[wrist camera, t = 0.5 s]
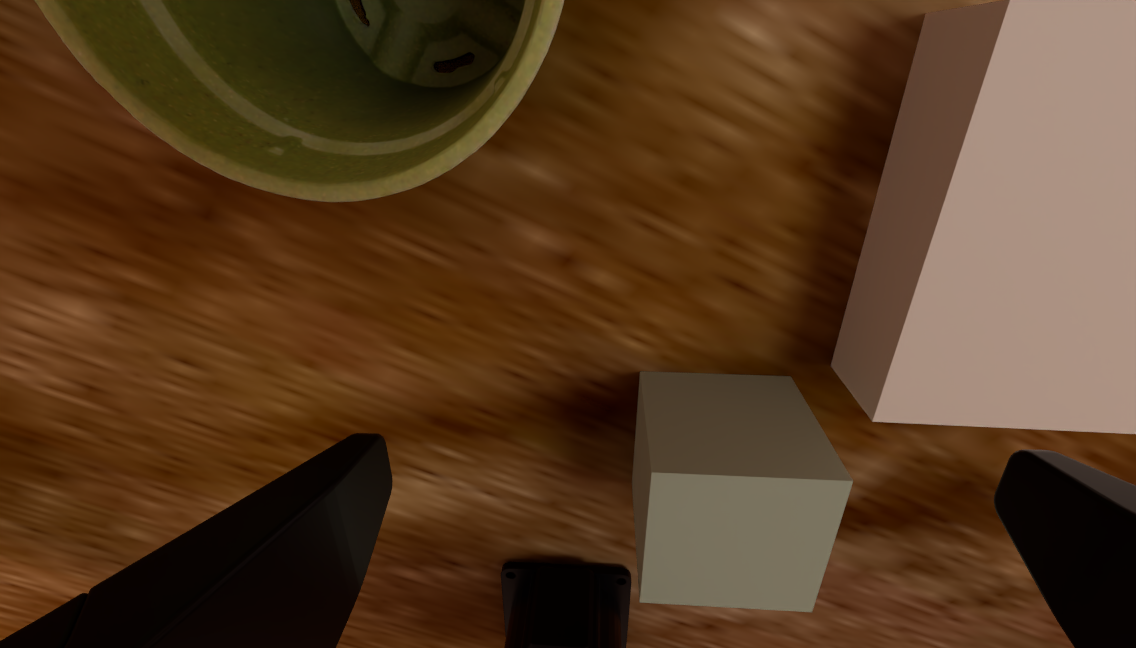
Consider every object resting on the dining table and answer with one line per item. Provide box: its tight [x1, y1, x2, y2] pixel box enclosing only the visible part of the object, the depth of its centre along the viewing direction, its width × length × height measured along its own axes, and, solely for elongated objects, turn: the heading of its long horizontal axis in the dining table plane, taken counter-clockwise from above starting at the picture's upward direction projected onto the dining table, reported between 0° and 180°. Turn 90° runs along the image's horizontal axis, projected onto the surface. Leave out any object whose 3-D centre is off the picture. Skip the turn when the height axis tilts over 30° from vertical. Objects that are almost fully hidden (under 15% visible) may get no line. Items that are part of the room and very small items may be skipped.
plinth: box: [831, 0, 1136, 434], centre depth 16 cm, size 12×10×4 cm
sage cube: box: [632, 371, 853, 612], centre depth 20 cm, size 6×6×6 cm
